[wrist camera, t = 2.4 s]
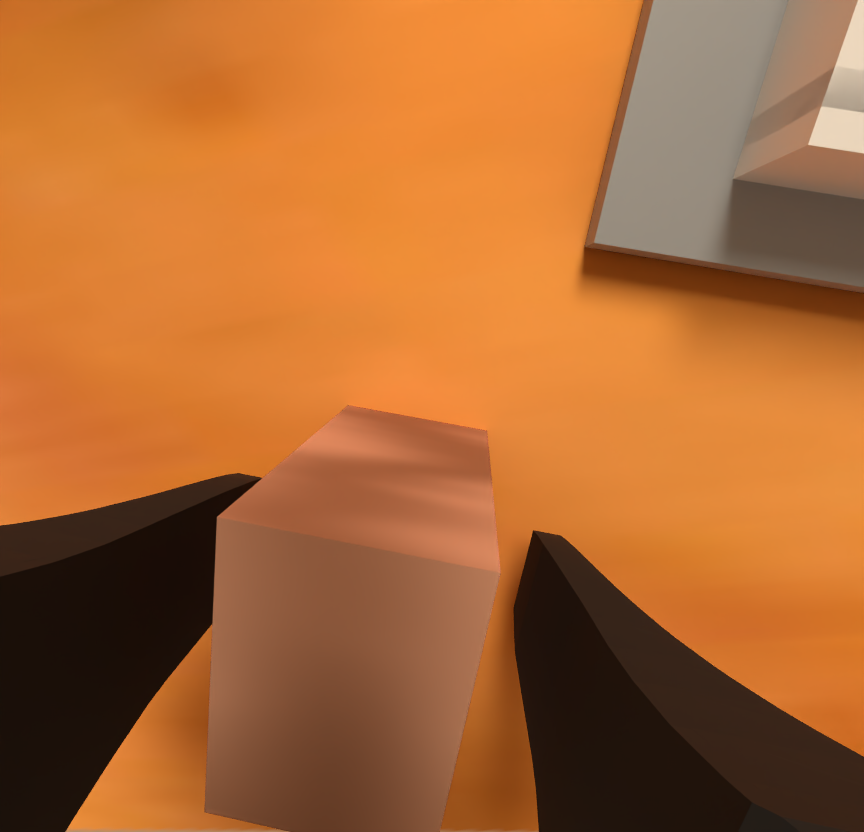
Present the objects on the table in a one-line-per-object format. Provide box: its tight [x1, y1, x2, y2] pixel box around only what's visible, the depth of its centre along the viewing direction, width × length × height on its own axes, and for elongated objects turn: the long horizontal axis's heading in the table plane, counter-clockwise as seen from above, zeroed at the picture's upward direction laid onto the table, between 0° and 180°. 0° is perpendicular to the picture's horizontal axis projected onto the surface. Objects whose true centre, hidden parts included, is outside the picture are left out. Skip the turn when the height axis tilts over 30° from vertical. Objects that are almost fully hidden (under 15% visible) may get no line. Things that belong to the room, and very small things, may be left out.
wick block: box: [205, 405, 501, 832], centre depth 9 cm, size 4×5×6 cm
